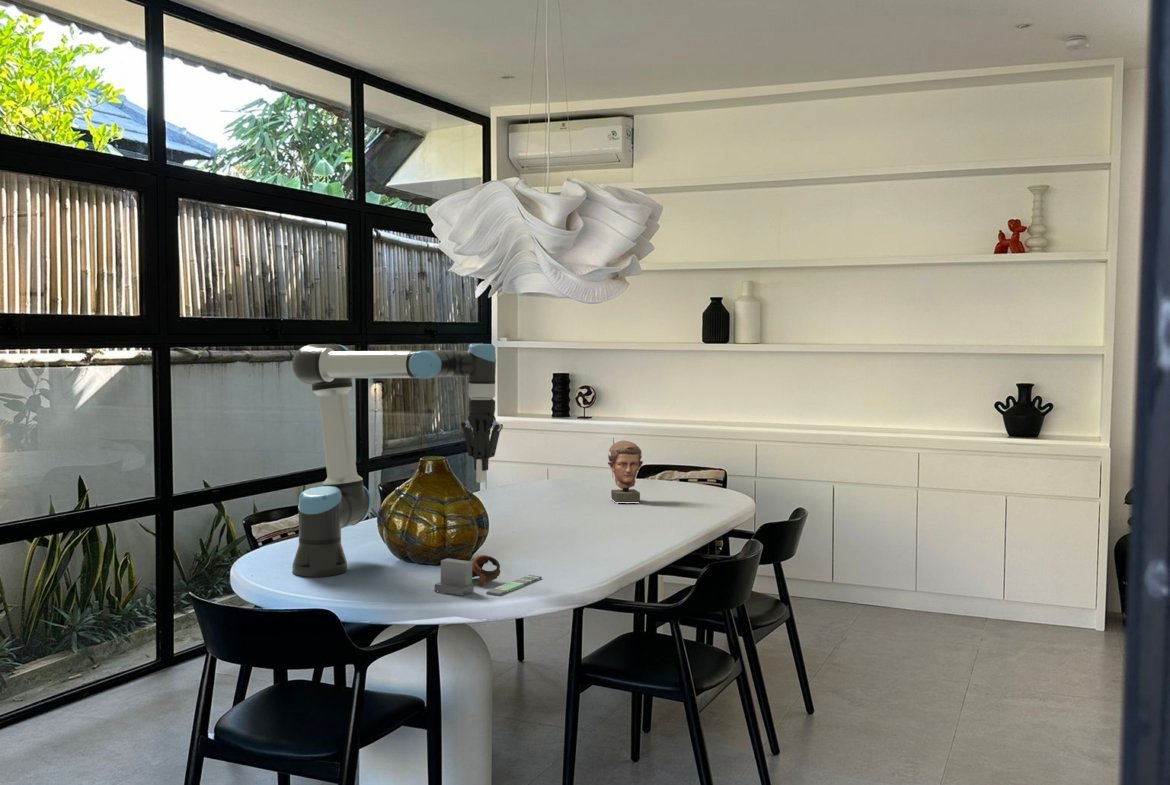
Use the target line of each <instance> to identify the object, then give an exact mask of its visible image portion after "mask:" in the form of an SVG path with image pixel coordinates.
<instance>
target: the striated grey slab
mask: <svg viewBox="0 0 1170 785" xmlns="http://www.w3.org/2000/svg"><path fill="white" fill-rule="evenodd" d="M463 560H464V559H462V560H461V559H456V558H455V559H454V558H448V557H447V558H444V559H441V560H440V582H436V583H434V592H435V591H438V592H437V593H440V592H444V593H443V594H447V593H450V594H449V595H453V594H455V595H454V596H459V595H460V597H464V596H467V595H470V594H471V593H472V594H473V593H474V587H475V585H474V584H473V578H472V561H470V560H466V561H463Z"/></svg>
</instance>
